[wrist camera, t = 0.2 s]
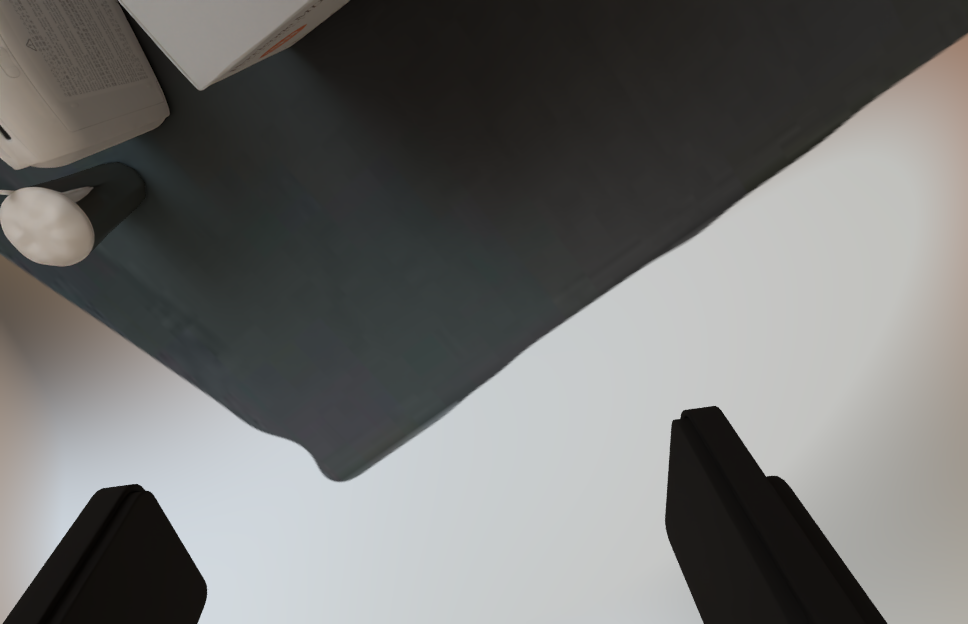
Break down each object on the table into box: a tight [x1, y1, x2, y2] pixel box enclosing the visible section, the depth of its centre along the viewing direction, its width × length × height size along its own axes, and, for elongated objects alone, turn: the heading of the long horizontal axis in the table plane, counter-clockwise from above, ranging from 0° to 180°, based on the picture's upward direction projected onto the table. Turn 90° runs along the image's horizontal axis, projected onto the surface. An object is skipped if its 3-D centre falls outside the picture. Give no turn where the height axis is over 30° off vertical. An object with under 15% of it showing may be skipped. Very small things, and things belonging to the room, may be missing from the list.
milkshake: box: [0, 162, 146, 266], centre depth 33 cm, size 5×5×10 cm
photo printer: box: [0, 0, 170, 170], centre depth 28 cm, size 10×4×12 cm, turn 14°
